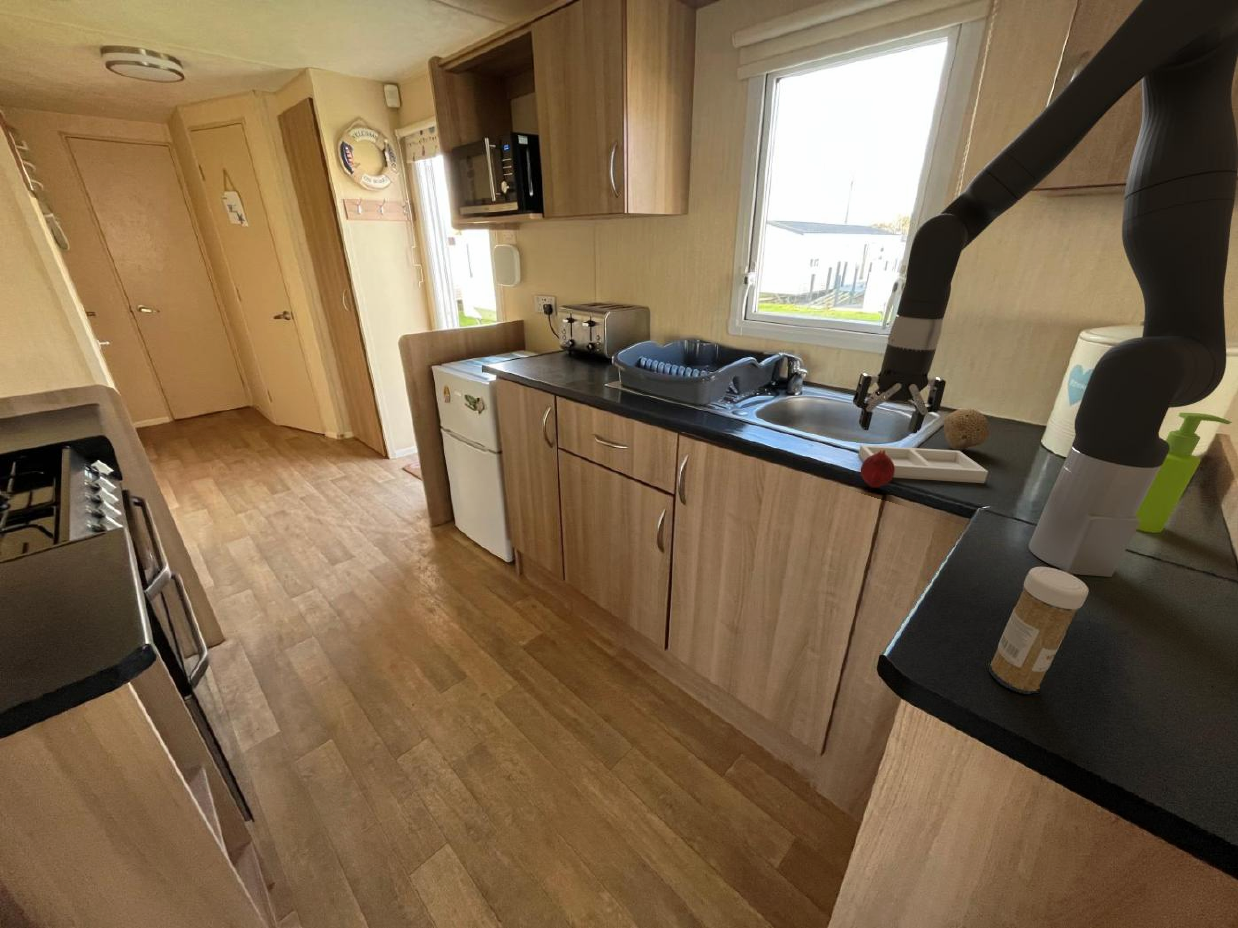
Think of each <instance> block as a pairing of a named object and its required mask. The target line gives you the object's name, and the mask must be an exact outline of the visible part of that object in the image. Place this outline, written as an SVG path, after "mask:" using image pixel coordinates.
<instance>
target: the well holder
mask: <svg viewBox="0 0 1238 928" xmlns="http://www.w3.org/2000/svg"><path fill="white" fill-rule="evenodd" d="M881 449H883V450H885V454H886V455H887V456H888V457H889V458H890V459H891V460H892V462H893V464H894V467H895V472H894V476H893V478H894V479H895V478H896V479H898V478H899V479H913V480H927V481H928V480H930V481H945V482H961V483H962V482H963V483H974V484H975V483H976V484H977V483H978V484H979V483H980V484H985V482H986V479H987V476H988V473H989V471H988V470H987V469H985V468H984V467H982V466H981V465H980V464H978V463H977V462H976V461H974V460H973V459H971V458H970V457H968V456H967V455H966V454H964V453H963V452H962V451H961V450H954V449H934V448H917V447H901V446H900V447H899V446H885V445H884V446H882V445H881V446H880V445H864V444H863V445H862V444H861V445H859V450H858V454H857V456H858V457H859V459H860V460H861V461H862V463H863V462H864V461H865V460H866V459H867V458H868V457H870V456H872V455H875V454H877V453H878V452H879V451H880V450H881Z"/></svg>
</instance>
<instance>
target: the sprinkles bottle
mask: <svg viewBox="0 0 1238 928" xmlns="http://www.w3.org/2000/svg"><path fill="white" fill-rule="evenodd" d="M1024 579H1025V580H1024V582H1023V587H1022V592H1021V594H1020V597H1019V599H1018V601H1017V602H1016V605H1015V607H1013V610H1012V613H1011V615H1010V617H1009V619H1008V621H1007V624H1006V626H1005V628H1004V630H1003V632H1002V635H1001V638H1000V640H999V642H998V646H997V650H996V651H995V654H994V656H993V658H992V661H991V664H990V663H989V664H990V665H991V667H992V670H993V671H994V673H995V674H997V676H998V677H1000V678H1001V679H1002V680H1003V681H1005V682H1006V683H1009V685H1011V686H1013V687H1015V688H1017V689H1021V690H1025V691H1026V690H1027V691H1029V692H1030V691H1036V690H1037V689H1039V690H1040V688H1041V686H1039V685H1041V683H1042V681H1043V678H1044V676H1045V675H1046V673H1047V670H1048V669H1050V667H1051V664H1052V663H1053V660H1054V658H1055V656H1056V654H1057V652H1058V650H1059V647H1060V645H1061V644H1062V642H1063V640H1064V638H1065V635H1066V631H1068V628H1069V626H1070V624H1071V623H1072V620H1073V618H1074V616H1075V615H1076V612H1077V611H1078V610H1079V609H1081V607H1083V605H1084V603H1085V601H1086V599H1087V597H1088V595H1089V587H1088V586H1087V585H1086V583H1085V582H1084V581H1082V580H1081V579H1080V578H1078V577H1076V576H1074V574H1068V573H1066V572H1064V571H1063V570H1061V569H1057V568H1055V567H1054V568H1053V567H1047V566H1036V567H1033V568H1030V570H1029V571H1028V572H1027V575H1026V577H1025V578H1024Z"/></svg>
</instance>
